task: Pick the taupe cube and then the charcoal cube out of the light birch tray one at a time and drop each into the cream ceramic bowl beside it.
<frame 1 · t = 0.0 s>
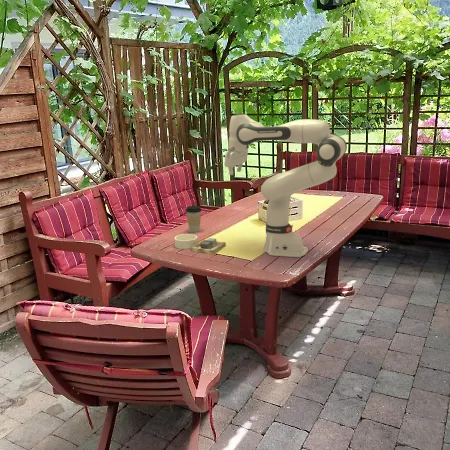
hand: (235, 173, 243), 39 cm above the table, tool pointing down, fingers open, 8 cm apart
charcoal cube: (205, 250, 244), point 1 cm above the table, touching parts tray
coffee cup: (194, 232, 278), on the table
bowl: (186, 247, 252), on the table
taupe cube: (211, 246, 249), point 1 cm above the table, touching parts tray
parts tray: (208, 250, 247), on the table
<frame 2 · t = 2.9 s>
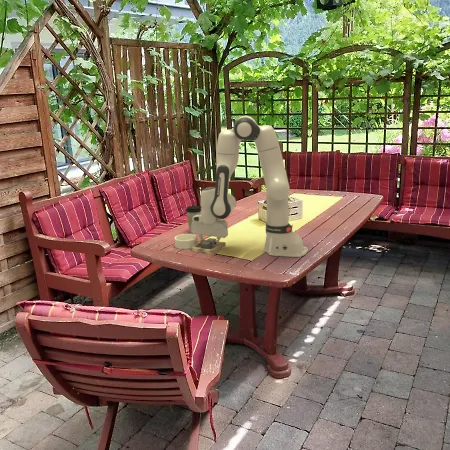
hand: (209, 243, 248), 3 cm above the table, tool pointing down, fingers open, 7 cm apart
nothing on the table moved.
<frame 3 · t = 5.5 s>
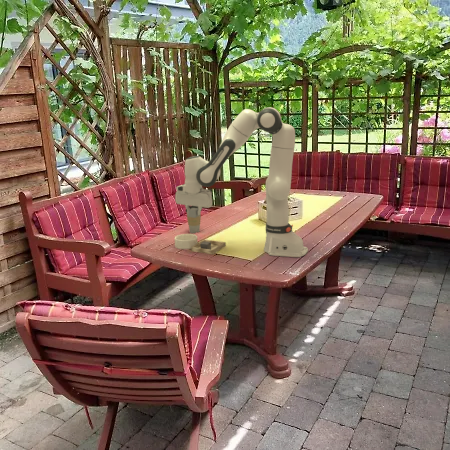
hand: (193, 213, 246), 19 cm above the table, tool pointing down, fingers closed on taupe cube, 4 cm apart
taupe cube: (194, 216, 247), point 17 cm above the table, touching gripper
everything else where it was.
when the fingers open (8 cm above the table, at t = 7.6 s): taupe cube drops 6 cm, resting on bowl.
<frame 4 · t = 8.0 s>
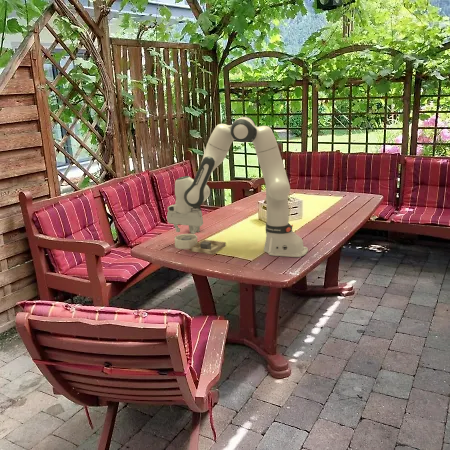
hand: (185, 232, 250), 8 cm above the table, tool pointing down, fingers open, 8 cm apart
taupe cube: (186, 245, 252), point 1 cm above the table, touching bowl
everything else where it was.
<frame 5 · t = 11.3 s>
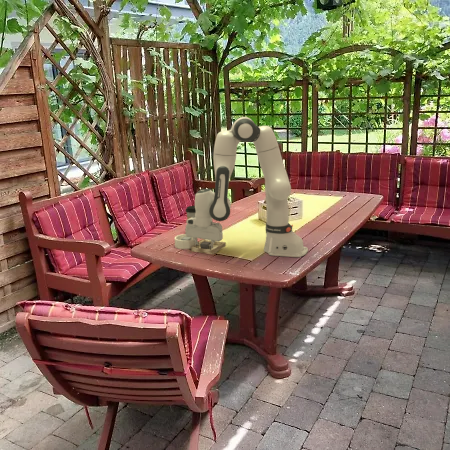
hand: (204, 246, 243), 3 cm above the table, tool pointing down, fingers open, 7 cm apart
nothing on the table moved.
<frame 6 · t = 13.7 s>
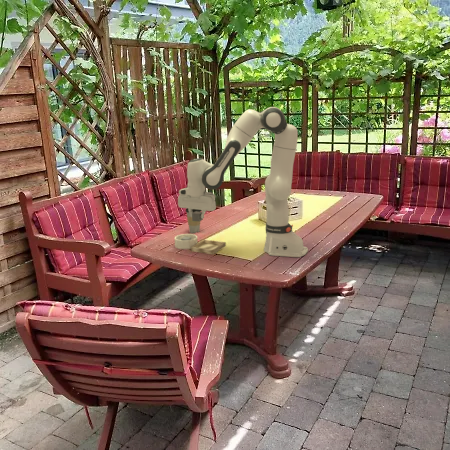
hand: (197, 217, 241), 18 cm above the table, tool pointing down, fingers closed on charcoal cube, 4 cm apart
charcoal cube: (197, 220, 242), point 16 cm above the table, touching gripper
everything else where it was.
when the fingers open (8 cm above the table, at t = 15.9 s): charcoal cube drops 2 cm, resting on taupe cube.
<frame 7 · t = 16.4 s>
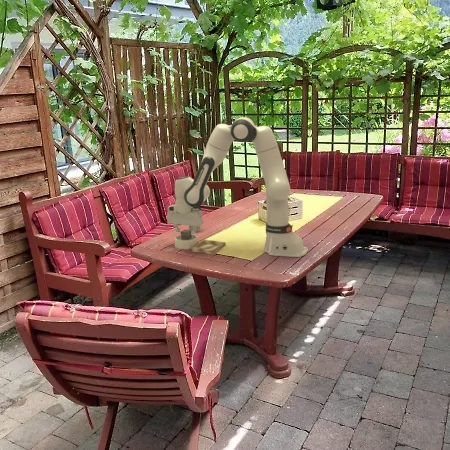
hand: (185, 232, 250), 8 cm above the table, tool pointing down, fingers open, 8 cm apart
charcoal cube: (186, 238, 251), point 5 cm above the table, touching taupe cube
taupe cube: (186, 245, 252), point 1 cm above the table, touching charcoal cube, bowl
everything else where it was.
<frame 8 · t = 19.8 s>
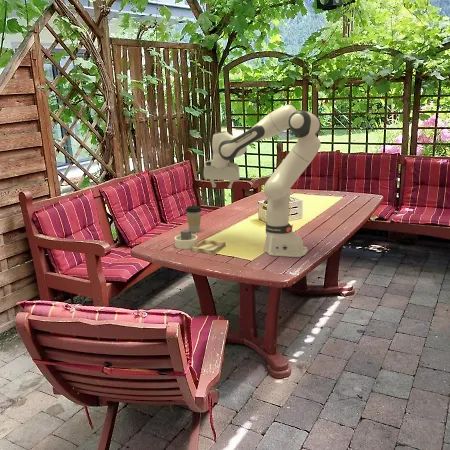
hand: (221, 187, 256), 29 cm above the table, tool pointing down, fingers open, 8 cm apart
nothing on the table moved.
at the end: taupe cube inside the target area on the bowl (0.2 cm from its centre), point 1.0 cm above the bowl's base; charcoal cube inside the target area on the bowl (0.2 cm from its centre), point 5.0 cm above the bowl's base; the gripper is holding nothing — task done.
